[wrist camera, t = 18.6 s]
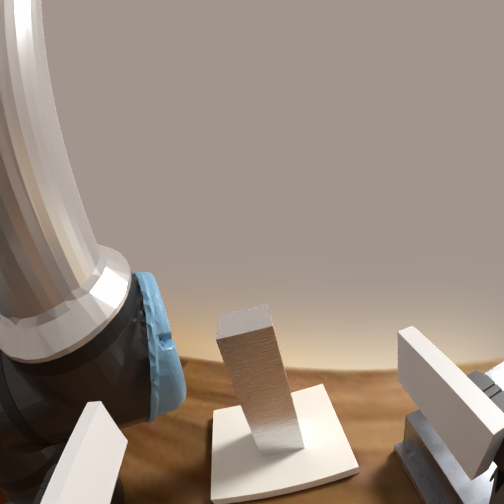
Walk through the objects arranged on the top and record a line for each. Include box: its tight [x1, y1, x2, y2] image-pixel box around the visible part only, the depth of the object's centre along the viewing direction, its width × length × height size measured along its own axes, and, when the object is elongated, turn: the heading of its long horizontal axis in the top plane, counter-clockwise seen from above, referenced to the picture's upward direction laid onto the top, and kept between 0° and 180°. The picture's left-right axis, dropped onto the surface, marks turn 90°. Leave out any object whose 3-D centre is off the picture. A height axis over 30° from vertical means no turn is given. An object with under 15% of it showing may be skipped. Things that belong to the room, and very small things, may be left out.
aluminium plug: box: [216, 303, 305, 457], centre depth 27 cm, size 4×4×15 cm
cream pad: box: [211, 384, 359, 504], centre depth 29 cm, size 14×14×1 cm
